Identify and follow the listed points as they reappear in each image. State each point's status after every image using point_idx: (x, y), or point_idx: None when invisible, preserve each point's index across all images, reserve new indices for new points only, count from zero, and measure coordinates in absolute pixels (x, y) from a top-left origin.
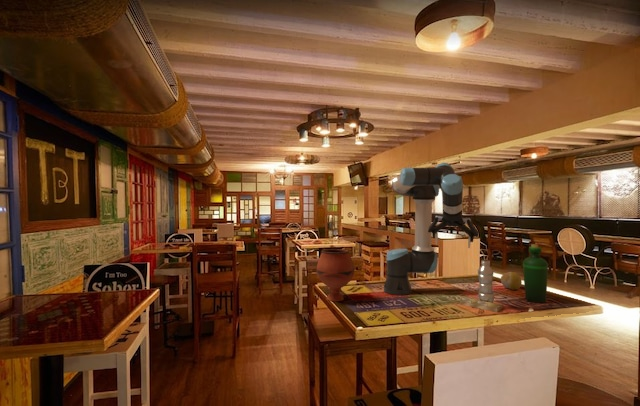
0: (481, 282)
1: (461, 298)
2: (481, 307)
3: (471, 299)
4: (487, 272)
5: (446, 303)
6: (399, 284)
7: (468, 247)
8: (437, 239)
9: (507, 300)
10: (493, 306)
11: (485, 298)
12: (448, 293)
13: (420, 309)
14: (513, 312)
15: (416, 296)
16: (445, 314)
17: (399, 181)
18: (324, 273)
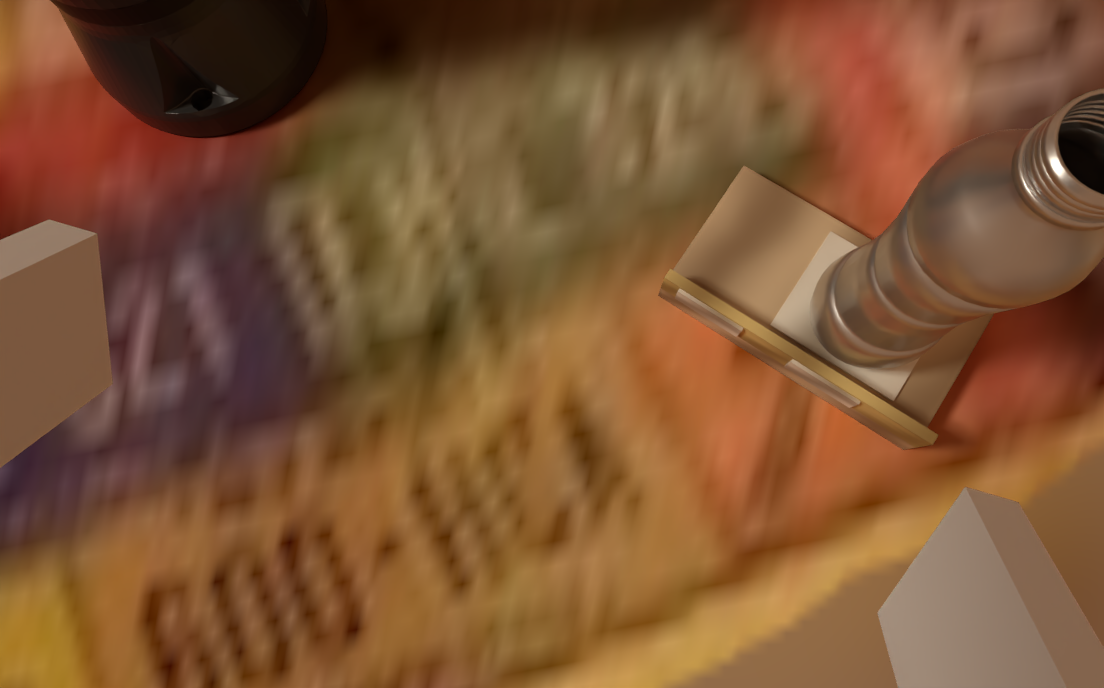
0: (893, 297)
1: (671, 284)
2: (803, 382)
3: (746, 328)
4: (1025, 298)
5: (552, 290)
6: (172, 64)
7: (892, 637)
8: (3, 377)
9: None
10: (896, 431)
11: (864, 361)
12: (624, 5)
13: (315, 493)
14: (1031, 429)
15: (347, 143)
16: (485, 586)
17: None
18: None
